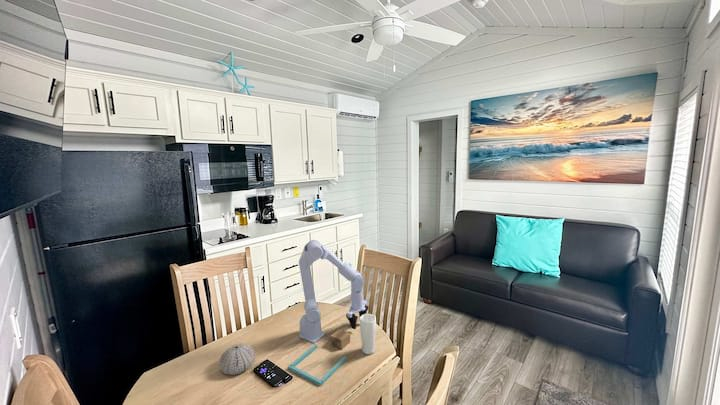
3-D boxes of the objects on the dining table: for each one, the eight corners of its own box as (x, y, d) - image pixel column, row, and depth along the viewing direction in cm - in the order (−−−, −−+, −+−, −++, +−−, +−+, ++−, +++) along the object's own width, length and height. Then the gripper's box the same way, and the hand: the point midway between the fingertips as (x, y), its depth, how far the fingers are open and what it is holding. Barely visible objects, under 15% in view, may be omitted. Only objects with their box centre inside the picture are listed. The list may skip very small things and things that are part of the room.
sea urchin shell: (262, 358, 120) (261, 340, 119) (239, 381, 108) (237, 362, 106) (236, 351, 125) (235, 334, 123) (211, 374, 112) (209, 355, 111)
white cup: (375, 357, 119) (374, 323, 117) (359, 355, 120) (358, 321, 118) (377, 346, 126) (377, 314, 123) (362, 344, 127) (361, 312, 125)
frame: (288, 369, 113) (288, 366, 113) (315, 346, 127) (315, 344, 126) (320, 386, 105) (320, 383, 104) (346, 360, 118) (346, 357, 118)
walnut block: (331, 345, 128) (330, 335, 127) (339, 338, 132) (339, 328, 132) (341, 350, 124) (341, 340, 124) (350, 342, 129) (350, 333, 128)
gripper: (355, 306, 129) (356, 334, 132) (372, 293, 142) (372, 319, 144) (343, 302, 133) (343, 330, 135) (360, 290, 145) (360, 315, 147)
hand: (357, 324), depth 140 cm, fingers open, 7 cm apart
